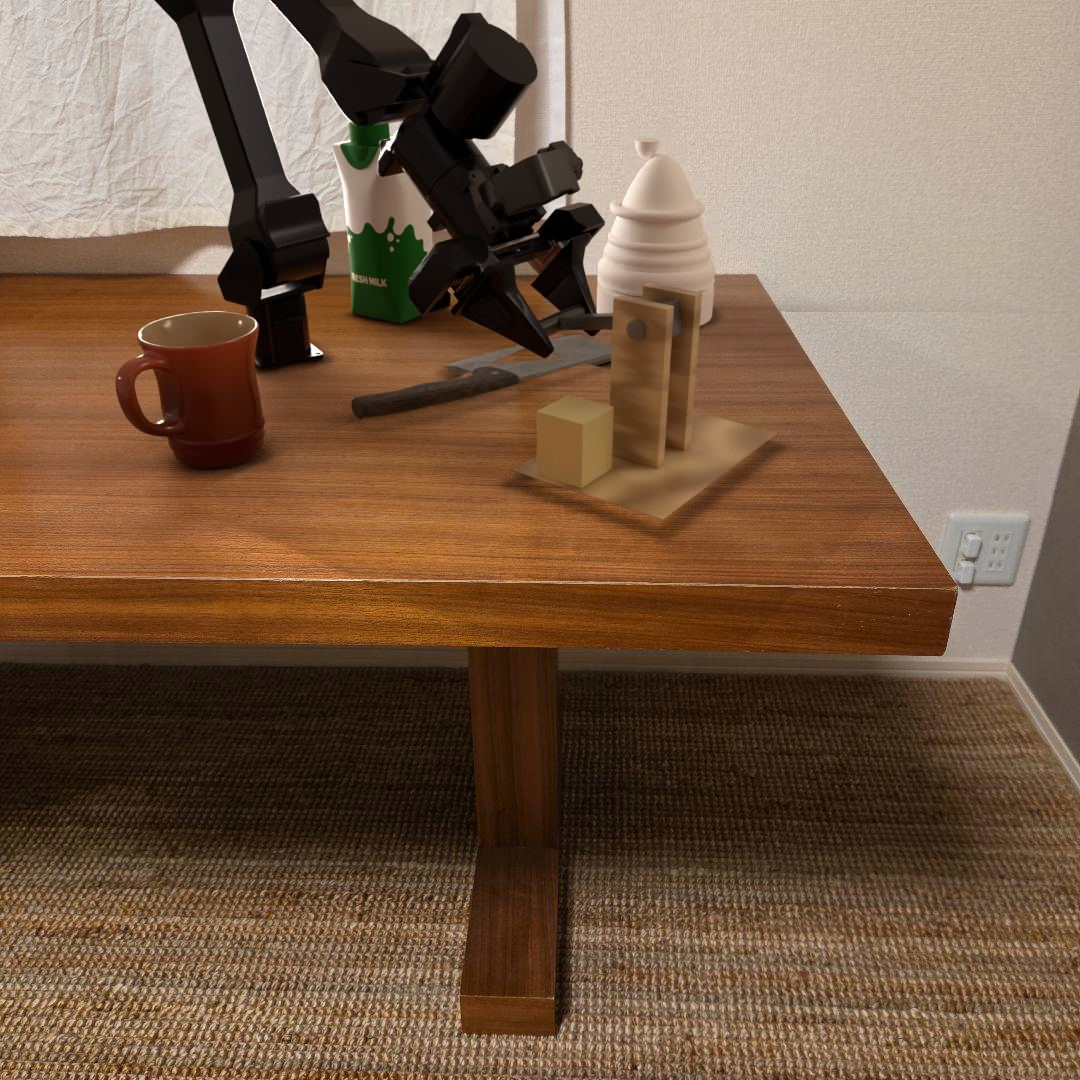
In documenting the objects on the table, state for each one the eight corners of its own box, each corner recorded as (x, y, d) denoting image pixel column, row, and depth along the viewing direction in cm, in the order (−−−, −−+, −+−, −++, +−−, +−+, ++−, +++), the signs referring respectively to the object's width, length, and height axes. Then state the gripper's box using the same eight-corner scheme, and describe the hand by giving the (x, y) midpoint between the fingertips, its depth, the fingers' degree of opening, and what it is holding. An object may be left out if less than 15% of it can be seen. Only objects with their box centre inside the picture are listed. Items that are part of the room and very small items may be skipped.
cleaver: (382, 438, 82) (380, 413, 81) (320, 404, 89) (318, 381, 88) (632, 360, 100) (634, 340, 98) (565, 337, 106) (566, 317, 105)
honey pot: (572, 315, 112) (574, 143, 103) (640, 290, 120) (647, 129, 111) (668, 339, 105) (680, 156, 96) (733, 311, 113) (749, 140, 104)
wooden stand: (511, 484, 75) (507, 309, 69) (638, 410, 88) (646, 256, 81) (661, 534, 69) (673, 346, 62) (776, 446, 81) (796, 282, 75)
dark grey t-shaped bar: (529, 348, 77) (523, 316, 76) (574, 328, 81) (569, 298, 80) (653, 347, 70) (649, 313, 69) (695, 325, 74) (692, 293, 73)
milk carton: (340, 315, 112) (320, 122, 102) (392, 295, 119) (378, 112, 109) (401, 328, 108) (387, 128, 98) (452, 307, 115) (443, 118, 105)
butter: (536, 474, 74) (536, 410, 72) (567, 455, 77) (568, 394, 74) (581, 488, 72) (582, 424, 69) (611, 469, 75) (614, 406, 72)
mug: (223, 424, 85) (203, 304, 80) (300, 446, 81) (283, 322, 76) (103, 477, 77) (72, 347, 72) (182, 505, 73) (154, 369, 67)
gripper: (424, 119, 66) (563, 310, 66) (585, 94, 79) (702, 254, 79) (353, 230, 74) (476, 401, 74) (510, 190, 87) (615, 336, 87)
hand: (574, 343), depth 78 cm, fingers closed on dark grey t-shaped bar, 6 cm apart
